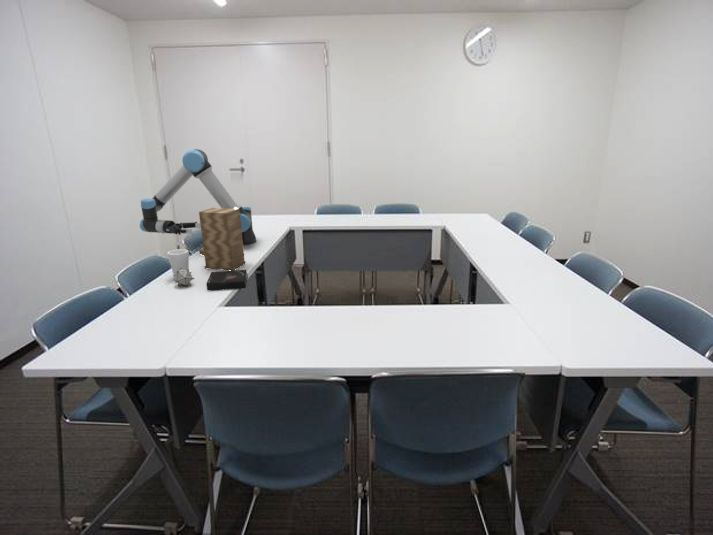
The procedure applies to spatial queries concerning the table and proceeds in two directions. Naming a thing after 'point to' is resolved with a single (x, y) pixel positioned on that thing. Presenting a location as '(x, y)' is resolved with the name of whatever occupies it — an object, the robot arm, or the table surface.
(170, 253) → the foam cup
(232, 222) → the brown patterned box
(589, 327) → the table surface
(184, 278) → the grey spiky ball
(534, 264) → the table surface
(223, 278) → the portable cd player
